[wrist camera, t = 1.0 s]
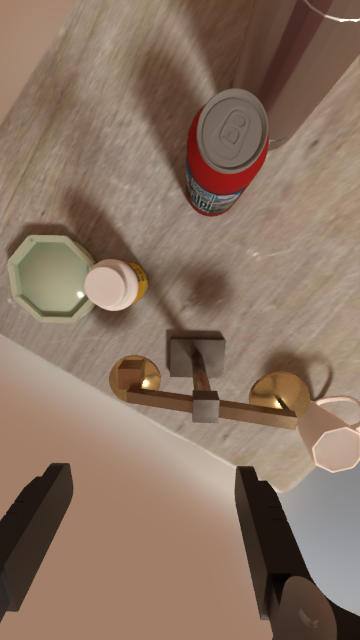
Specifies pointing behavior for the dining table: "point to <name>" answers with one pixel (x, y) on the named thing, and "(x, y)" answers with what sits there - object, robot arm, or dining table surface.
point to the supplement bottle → (115, 284)
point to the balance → (208, 362)
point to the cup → (330, 436)
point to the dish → (51, 278)
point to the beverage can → (225, 150)
